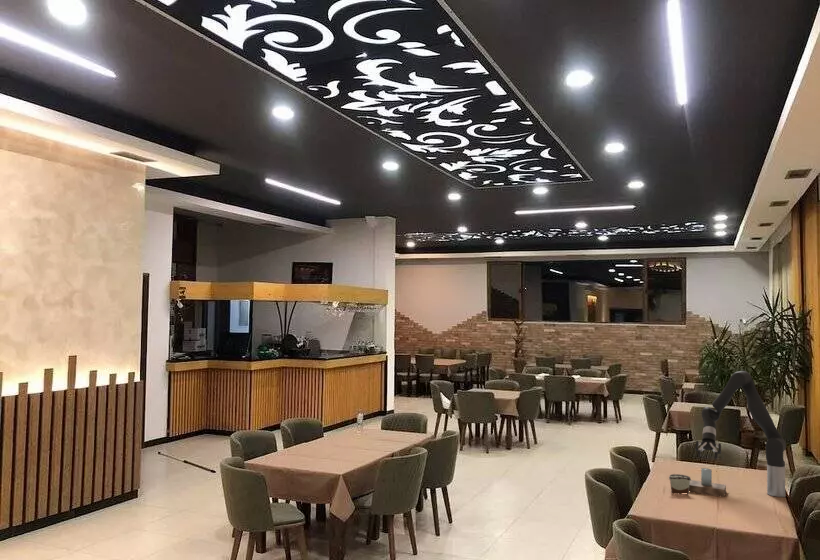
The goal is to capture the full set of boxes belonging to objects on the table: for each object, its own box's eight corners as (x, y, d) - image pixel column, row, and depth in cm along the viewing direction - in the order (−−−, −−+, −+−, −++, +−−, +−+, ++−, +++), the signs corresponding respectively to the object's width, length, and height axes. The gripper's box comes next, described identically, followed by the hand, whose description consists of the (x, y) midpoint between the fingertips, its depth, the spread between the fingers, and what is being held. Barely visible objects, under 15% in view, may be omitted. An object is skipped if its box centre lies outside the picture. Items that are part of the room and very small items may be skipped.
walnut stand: (725, 491, 381) (725, 484, 381) (724, 497, 369) (724, 490, 369) (689, 486, 391) (689, 479, 391) (686, 491, 379) (686, 484, 379)
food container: (687, 491, 379) (687, 474, 379) (691, 494, 373) (691, 477, 373) (666, 490, 380) (666, 473, 380) (669, 493, 374) (669, 476, 374)
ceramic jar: (711, 484, 381) (712, 469, 382) (711, 486, 376) (711, 470, 377) (701, 482, 384) (701, 467, 384) (700, 484, 379) (700, 469, 379)
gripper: (696, 430, 399) (694, 452, 388) (721, 433, 392) (720, 455, 381) (697, 437, 403) (695, 459, 393) (722, 440, 396) (720, 462, 386)
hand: (707, 457), depth 387 cm, fingers open, 8 cm apart
